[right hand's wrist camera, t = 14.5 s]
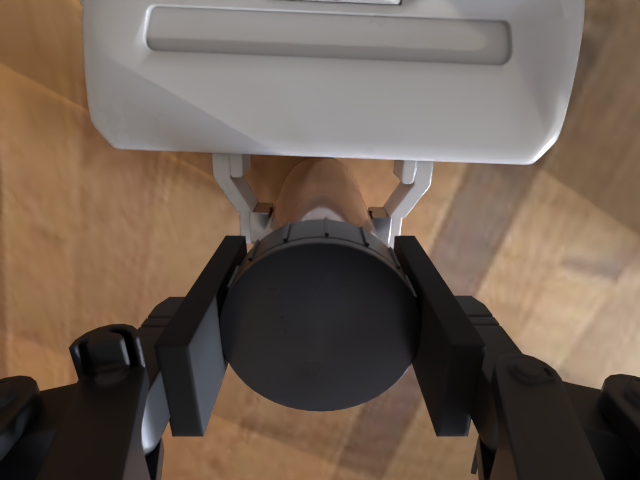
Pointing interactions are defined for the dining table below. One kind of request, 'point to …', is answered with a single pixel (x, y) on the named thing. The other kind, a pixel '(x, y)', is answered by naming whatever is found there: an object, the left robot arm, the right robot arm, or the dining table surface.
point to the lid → (320, 316)
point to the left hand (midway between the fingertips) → (320, 242)
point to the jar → (320, 196)
